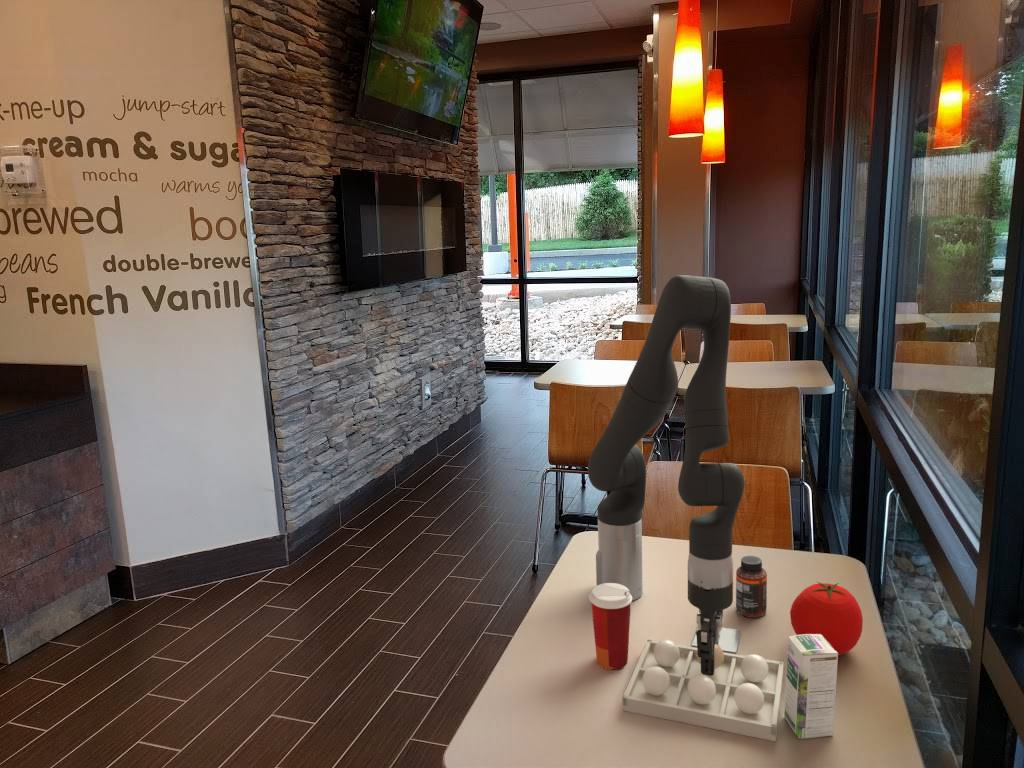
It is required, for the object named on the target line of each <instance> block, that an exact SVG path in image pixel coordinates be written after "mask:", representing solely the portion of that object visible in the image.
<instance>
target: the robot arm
mask: <svg viewBox="0 0 1024 768" xmlns="http://www.w3.org/2000/svg"><path fill="white" fill-rule="evenodd" d="M731 300H732V299H731V293H730V290H729V287H728V285H727V284H726V282H724V281H723V280H721V279H718V278H716V277H715V278H714V277H707V276H697V275H685V274H680V275H679V274H678V275H675V276H672V277H671V278H670V279H669V280H668V281H667V283H666V284H665V285H664V287H663V289H662V292H661V294H660V296H659V300H658V303H657V305H656V308H655V312H654V314H653V318H652V321H651V324H650V327H649V330H648V333H647V335H646V338H645V341H644V344H643V347H642V349H641V351H640V353H639V356H638V358H637V360H636V363H635V365H634V367H633V369H632V371H631V373H630V375H629V377H628V380H627V382H626V383H625V386H624V388H623V391H622V393H621V396H620V399H619V401H618V402H617V405H616V408H615V409H614V412H613V414H612V416H611V418H610V420H609V421H608V423H607V424H608V425H607V426H606V428H605V430H604V432H603V433H602V435H601V437H600V438H599V439H598V442H597V443H596V445H595V446H594V448H593V450H592V452H591V453H590V455H589V459H588V463H587V475H588V480H589V483H591V485H592V486H593V487H594V488H595V489H596V490H597V491H600V492H610V493H609V494H608V495H607V496H606V497H605V498H604V499H603V500H601V501H600V502H599V504H598V506H597V535H598V536H597V537H598V538H597V541H598V542H597V543H598V545H597V546H598V549H597V552H596V553H595V573H596V574H595V575H596V577H595V578H596V586H598V585H600V584H604V583H617V584H621V585H623V586H625V587H627V588H628V589H629V591H630V594H631V596H632V602H633V601H635V600H637V599H639V598H641V597H642V595H643V593H644V592H643V586H644V585H643V583H644V582H643V536H642V534H643V533H642V528H643V526H642V521H643V520H642V516H643V515H642V514H643V509H644V507H645V504H646V503H645V502H646V485H647V468H646V467H647V466H646V460H645V456H644V453H643V451H642V450H641V448H640V446H639V445H637V443H639V441H641V439H643V438H644V437H645V436H646V435H647V434H648V433H650V432H651V431H652V430H653V429H654V428H655V427H656V426H657V425H658V424H659V423H660V422H661V421H662V420H663V418H664V417H665V415H666V414H667V412H668V411H669V408H670V407H671V404H672V403H673V401H674V398H675V396H676V395H677V392H678V389H679V378H678V377H679V376H678V371H677V368H676V363H675V360H674V358H673V357H674V356H673V347H674V345H675V344H674V343H675V340H676V338H677V336H678V334H679V333H680V331H681V330H683V329H685V330H695V331H697V330H698V331H702V336H703V351H702V355H701V359H700V360H699V363H698V366H697V367H696V370H695V371H694V374H693V375H692V377H691V380H690V381H689V382H688V383H689V384H688V385H687V388H686V392H685V395H684V401H683V403H684V404H683V411H684V412H683V414H684V427H685V446H684V454H683V455H684V456H683V459H682V460H683V461H682V465H681V469H680V473H679V476H678V477H679V478H678V484H677V490H678V495H679V497H680V499H681V500H682V502H683V503H685V504H686V505H687V506H689V507H716V508H715V509H713V510H712V511H709V512H707V513H703V514H699V515H696V516H694V517H693V518H692V519H691V520H690V522H689V528H688V529H689V530H688V531H689V532H688V533H689V535H688V538H689V540H688V541H689V542H688V543H689V544H688V559H687V600H688V602H689V604H691V605H692V606H693V607H695V608H696V609H698V613H697V614H696V624H697V628H698V630H697V629H696V631H697V632H696V631H695V634H696V635H697V650H698V652H697V655H698V657H700V658H701V673H702V674H704V675H710V676H713V675H714V662H715V654H716V652H715V644H718V640H719V638H720V631H721V629H722V628H723V618H724V617H723V616H724V610H727V609H729V607H731V606H732V605H733V603H734V561H733V560H734V558H733V530H734V525H735V520H736V516H737V514H738V510H739V508H740V505H741V501H742V498H743V496H744V491H745V486H746V485H745V484H746V483H745V478H744V474H743V471H742V470H741V468H740V467H739V466H738V465H736V464H735V463H733V462H718V463H717V462H714V463H713V462H711V463H710V462H709V463H706V462H704V463H702V462H701V463H700V460H701V457H702V455H703V454H705V453H706V452H710V451H713V450H714V451H715V450H719V449H722V448H724V447H726V446H727V445H728V444H729V442H730V441H729V440H730V433H729V431H730V429H729V422H728V421H729V420H728V407H727V406H728V405H727V382H726V381H727V369H728V357H729V349H730V348H729V346H730V335H731V334H730V333H731V332H730V330H731V321H732V320H731V319H732V318H731V317H732V316H731V315H732V302H731Z"/></svg>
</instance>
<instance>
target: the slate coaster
mask: <svg viewBox="0 0 1024 768" xmlns="http://www.w3.org/2000/svg"><path fill="white" fill-rule="evenodd" d="M697 630H698V627H697V629H696V631H695V635H694V638H693V641H692V644H691V647H695V648H697V635H696V632H697ZM741 630H742V629H741ZM741 630H740V629H734V628H728V627H722V629H721V631H720V638H719V640H718V645H719V646H720V647H721V648H722V650H723V652H725V653H731V654H737V653H738V648H739V643H740V638H741V633H742V631H741Z"/></svg>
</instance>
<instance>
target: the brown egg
mask: <svg viewBox="0 0 1024 768" xmlns="http://www.w3.org/2000/svg"><path fill="white" fill-rule="evenodd" d="M697 652H698V650H697ZM715 652H716V654H715V662H714V669H717V668H718V667H720V666H721V665H722V663H723V660H724V653H723V650H722V648H721V647H720V646H719V645H718V644H715ZM697 659H698V661H699V663H700V664H701V658H700V657H698V655H697Z"/></svg>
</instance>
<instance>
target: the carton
mask: <svg viewBox="0 0 1024 768" xmlns="http://www.w3.org/2000/svg"><path fill="white" fill-rule="evenodd" d="M658 642H659V640H652V639H647V640H646V642H645V645H644V647H643V650H642V652H641V654H640V657H639V659H638V661H637V663H636V666H635V668H634V671H633V673H632V676H631V678H630V680H629V682H628V685H627V687H626V689H625V691H624V694H623V696H622V710H623V711H624V712H629V713H634V714H639V715H643V716H648V717H649V716H650V717H654V718H659V719H663V720H664V719H665V720H670V721H672V722H673V721H674V722H678V723H684V724H689V725H694V726H698V727H704V728H708V729H712V730H717V731H724V732H728V733H733V734H736V735H743V736H747V737H753V738H756V739H757V738H758V739H760V740H761V739H762V740H767V741H771V742H772V741H773V742H777V736H778V727H779V718H780V708H781V700H782V690H783V685H784V684H783V683H784V673H785V672H784V671H785V668H784V667H785V662H783V661H779V660H772V659H767V658H764V659H765V661H766V662H767V664H768V668H769V672H768V675H767V677H766V678H765V680H763V681H762V682H758V683H754V682H750V681H748V680H747V679H746V678H745V677H744V676H743V675H742V672H741V668H740V666H741V662H742V660H743V658H744V657H746V656H747V655H742V654H737V653H736V654H731V653H725V652H723V653H724V660H723V663H722V665H721V666H720V667H718V668H717V669H714V675H713V676H710V675H705V676H708V677H709V678H710V679H711V680H712V681H713V682H714V684H715V687H716V695H715V698H714V699H713V700H712V701H711V702H710V703H708V704H705V705H701V704H697V703H695V702H694V701H693V700H692V699H691V698H690V696H689V694H688V691H687V686H688V682H689V681H690V679H691V678H692V677H694V676H696V675H704V674H702V673H701V664H700V663H699V661H698V659H697V648H695V647H692V646H688V645H682V644H677V643H675V644H676V645H677V646H678V648H679V651H680V657H679V660H678V662H677V663H676V664H675V665H673V666H671V667H664V666H661V665H660V664H659V663H658V662H657V661H656V660H655V658H654V647H655V645H656V644H657V643H658Z"/></svg>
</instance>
